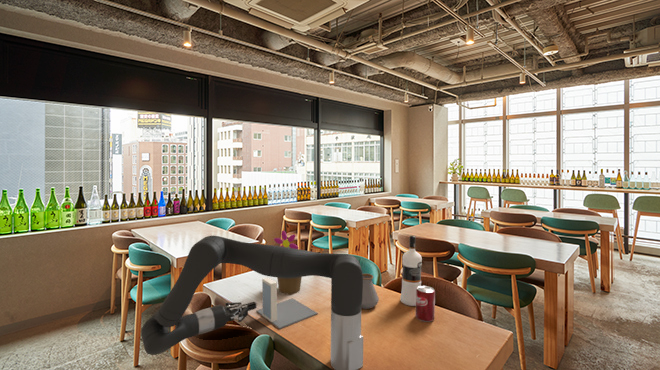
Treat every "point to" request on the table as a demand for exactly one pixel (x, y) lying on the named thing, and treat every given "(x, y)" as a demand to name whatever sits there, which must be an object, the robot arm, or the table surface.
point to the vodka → (411, 274)
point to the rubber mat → (290, 313)
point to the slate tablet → (269, 299)
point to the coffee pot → (369, 292)
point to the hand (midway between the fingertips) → (255, 304)
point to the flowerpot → (288, 283)
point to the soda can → (425, 303)
